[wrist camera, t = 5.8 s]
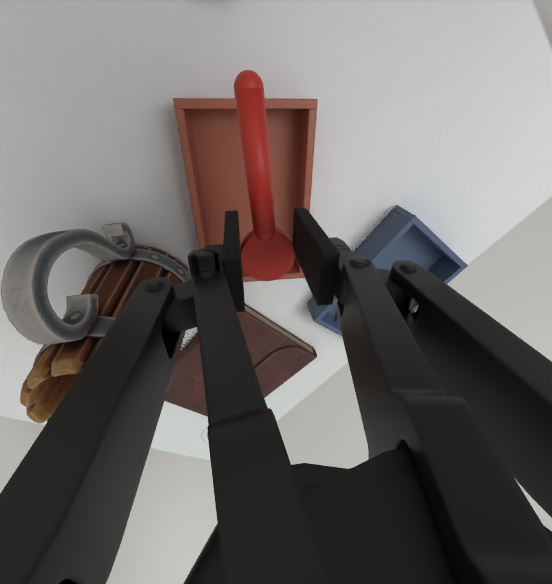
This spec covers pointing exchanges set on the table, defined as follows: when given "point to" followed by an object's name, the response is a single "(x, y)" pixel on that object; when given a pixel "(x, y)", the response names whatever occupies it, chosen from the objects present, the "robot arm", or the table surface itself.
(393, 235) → the blue bin
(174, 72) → the table surface
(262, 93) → the red spoon
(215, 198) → the red bin
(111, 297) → the mug
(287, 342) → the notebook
